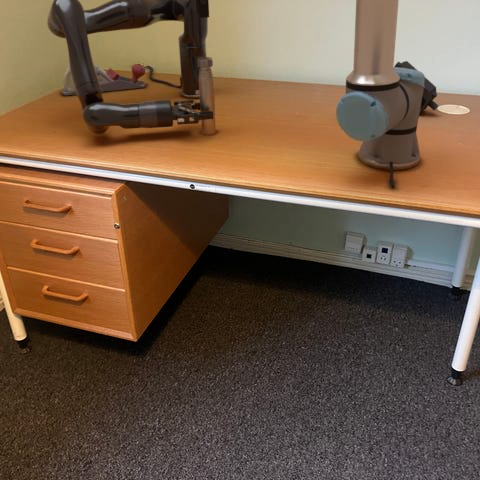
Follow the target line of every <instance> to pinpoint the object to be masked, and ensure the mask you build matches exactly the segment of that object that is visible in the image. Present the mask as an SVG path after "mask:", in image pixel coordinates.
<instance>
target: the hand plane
mask: <svg viewBox="0 0 480 480" xmlns="http://www.w3.org/2000/svg"><path fill="white" fill-rule="evenodd" d="M134 64H135V65H134ZM134 64H133V65H132V66H131V73H132V76H131V78H130V77H126V76H123V75H120V74H119V73H117V72H116V71H114V70H113V69H112V68H111V67H109V68H108V70H107V71H105V70H104V69H103V68H102V67H100V65H94V67H95V70H96V74H97V77H98V80H99V83H100V87H101V92H102V93H104V92H112V91H113V92H114V91H121V90H132V89H142V88H146V83H145V81H143V80H139V78H142V77H144V76H145V75H146V67H145V66H143V65H140V64H136V63H134ZM62 84H63V88H62V90H61V93H62V95H63V96H74V95H77V94H76V91H75V87H74V84H73V80H72V77H71V72H70V64H69V65H68V67H67V68H66V70H65V72H64V74H63V80H62Z"/></svg>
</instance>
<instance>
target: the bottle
mask: <svg viewBox="0 0 480 480" xmlns="http://www.w3.org/2000/svg"><path fill="white" fill-rule="evenodd" d="M214 81H215V80H214V74H213V71H212V67H208V68H201V67H200V72H199V95H200V98H199V102H200V110H199V112H203V111H213V119H208V120H200V126H201V127H200V128H201V129H200V130H201V134H203V135H207V136H211V135H214V134H216V132H217V127H216V105H215V103H216V102H215V85H214Z"/></svg>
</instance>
